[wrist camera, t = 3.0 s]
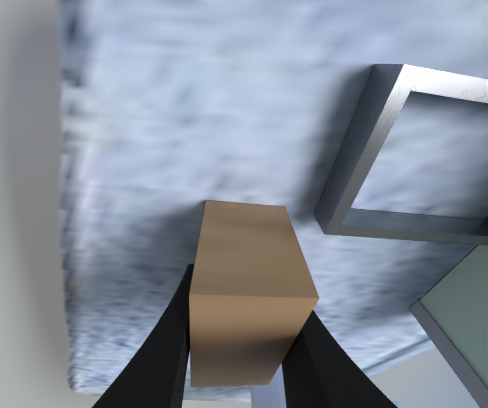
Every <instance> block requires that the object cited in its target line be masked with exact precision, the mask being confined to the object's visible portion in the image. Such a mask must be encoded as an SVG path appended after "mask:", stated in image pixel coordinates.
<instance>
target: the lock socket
mask: <svg viewBox="0 0 488 408" xmlns="http://www.w3.org/2000/svg"><path fill="white" fill-rule="evenodd" d="M410 91H416V92H422V93H428V94H434V95H440V96H447V97H453V98H459V99H465V100H471V101H477V102H483V103H488V79H482V78H477V77H471V76H466V75H460V74H455V73H449V72H444V71H438V70H432V69H427V68H421V67H416V66H410V65H405V64H375V65H374V68H373V70H372V73H371V75H370V77H369V80H368V82H367V85H366V87H365V90H364V92H363V95H362V97H361V100H360V102H359V105H358V107H357V110H356V112H355V115H354V117H353V119H352V122H351V124H350V127H349V129H348V132H347V134H346V137H345V139H344V142H343V144H342V147H341V149H340V152H339V154H338V157H337V159H336V161H335V164H334V166H333V169H332V171H331V174H330V176H329V179H328V181H327V184H326V186H325V189H324V191H323V194H322V196H321V198H320V201H319V203H318V206H317V208H316V211H315V213H314V216H315V218H316V220H317V222H318V224H319V225H320V227H321V229H322V231H323V233H324V234H328V235H342V236H356V237H371V238H385V239H400V240H414V241H428V242H443V243H457V244H472V245H486V246H488V218H487V219H486V220H478V219H466V218H455V217H443V216H431V215H420V214H408V213H397V212H385V211H374V210H362V209H350V207H351V206H352V204H353V202H354V200H355V198H356V196H357V194H358V192H359V190H360V188H361V186H362V184H363V182H364V180H365V178H366V176H367V174H368V173H369V171H370V169H371V167H372V165H373V163H374V161H375V159H376V157H377V155H378V153H379V151H380V149H381V147H382V145H383V143H384V141H385V139H386V138H387V136H388V134H389V132H390V130H391V128H392V126H393V124H394V122H395V120H396V118H397V116H398V114H399V112H400V110H401V108H402V106H403V105H404V103H405V101H406V99H407V97H408V95H409V93H410Z"/></svg>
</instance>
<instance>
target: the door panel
mask: <svg viewBox="0 0 488 408" xmlns="http://www.w3.org/2000/svg"><path fill="white" fill-rule="evenodd" d="M409 310H410V311H411V312H412V314H413V315H414V317H415V318H416V319H417V321H418V322H419V324H420V325H421V326H422V328H423V329H424V330H425V332H426V333H427V335H428V336H429V337H430V339H431V340H432V342H433V343H434V344H435V346H436V347H437V349H438V350H439V351H440V353H441V354H442V355H443V357H444V358H445V359H446V361H447V362H448V364H449V365H450V366H451V368H452V369H453V371H454V372H455V374H456V375H457V376H458V377H459V379H460V381H461V382H462V383H463V385H464V386H465V387H466V389H467V390H468V392H469V393H470V394H471V396H472V397H473V398H474V400H475V401H476V402H477V404H478V405H479V407H480V408H488V246H486V245H478V246H477V247H476V248H475V249H474V250H473V251H472V252H471V253H470V254H469V255H467V256H466V257H465V258H464V259H463V260H462V261H461V262H460V263H459V264H458V265H457V266H456V267H455V268H454V269H453V270H451V271H450V272H449V273H448V274H447V275H446V276H445V277H444V278H443V279H442V280H441V281H440V282H439V283H438V284H437V285H436V286H434V287H433V288H432V289H431V290H430V291H429V292H428V293H427V294H426V295H425V296H424V297H423V298H422V299H421V300H417V301H416V302H415V303H414V304H413V305H412V306H411V307H410V308H409Z"/></svg>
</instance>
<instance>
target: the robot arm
mask: <svg viewBox="0 0 488 408" xmlns="http://www.w3.org/2000/svg"><path fill="white" fill-rule="evenodd" d="M194 265H195V264H189V265H188V266H187V269H186V272H185V274H184V276H183V279H182V281H181V283H180V285H179V287H178V289H177V291H176V292H175V294H174V296H173V298H172V300H171V301H170V303H169V305H168V307H167V308H166V310H165V312H164V313H163V315H162V316H161V318H160V320H159V321H158V323H157V324H156V326H155V327H154V329H153V330H152V332H151V333H150V335H149V336H148V337H147V339H146V340H145V342H144V343H143V345H142V346H141V347H140V349H139V350H138V351H137V353H136V354H135V355H134V357H133V358H132V359H131V361H130V362H129V363H128V364H127V366H126V367H125V368H124V370H123V371H122V372H121V373H120V375H119V376H118V377H117V378H116V379H115V381H114V382H113V383H112V384H111V385H110V387H109V388H108V389H107V390H106V391H105V393H104V394H103V395H102V396H101V398H100V399H99V400H98V401H97V402H96V403H95V404H94V406H93V407H92V408H181V407H182V400H183V393H184V385H185V377H186V370H187V363H188V357H189V352H190V309H189V293H190V287H191V282H192V276H193V271H194ZM242 387H244V388H250V390H251V407H252V408H397V407H396V406H395V405H394V404H393V403H392V402H391V401H390V400H389V399H388V398H387V397H386V396H385V395H384V394H383V393H382V392H381V391H380V390H379V389H378V388H377V387H376V386H375V385H374V384H373V383H372V382H371V380H370V379H369V378H368V377H367V376H366V375H365V374H364V373H363V372H362V371H361V369H360V368H359V367H358V366H357V365H356V364H355V363H354V362H353V361H352V360H351V358H350V357H349V356H348V355H347V354H346V353H345V351H344V350H343V349H342V348H341V347H340V345H339V344H338V343H337V342H336V340H335V339H334V338H333V337H332V335H331V334H330V333H329V331H328V330H327V329H326V327H325V326H324V325H323V323H322V322H321V320H320V319H319V318H318V316H317V315H316V313H315V312H314V310H312V312H311V313H310V315H309V317H308V318H307V320H306V322H305V324H304V325H303V327H302V329H301V330H300V332H299V334H298V335H297V337H296V339H295V341H294V342H293V344H292V346H291V347H290V349H289V351H288V353H287V354H286V356H285V358H284V359H283V361H282V363H281V364H280V366H279V368H278V370H277V371H276V373H275V375H274V376H273V378H272V380H271V381H270V383H269V385H249V386H242Z"/></svg>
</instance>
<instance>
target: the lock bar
mask: <svg viewBox="0 0 488 408" xmlns="http://www.w3.org/2000/svg"><path fill="white" fill-rule="evenodd" d="M318 300H319V296H318V294H317V291H316V288H315V286H314V283H313V280H312V277H311V275H310V272H309V269H308V267H307V264H306V261H305V259H304V256H303V253H302V251H301V248H300V245H299V243H298V240H297V237H296V235H295V232H294V229H293V227H292V224H291V221H290V219H289V216H288V213H287V210H286V208H285V207H282V206H270V205H258V204H246V203H234V202H222V201H210V200H206V203H205V209H204V215H203V220H202V226H201V231H200V237H199V243H198V248H197V254H196V259H195V265H194V271H193V276H192V282H191V287H190V293H189V309H190V365H191V387H202V386H249V385H269V383H270V381H271V380H272V378H273V376H274V375H275V373H276V371H277V370H278V368H279V366H280V364H281V363H282V361H283V359H284V358H285V356H286V354H287V353H288V351H289V349H290V347H291V346H292V344H293V342H294V341H295V339H296V337H297V335H298V334H299V332H300V330H301V329H302V327H303V325H304V324H305V322H306V320H307V318H308V317H309V315H310V313H311V312H312V310H313V308H314V307H315V305H316V303H317V301H318Z"/></svg>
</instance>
